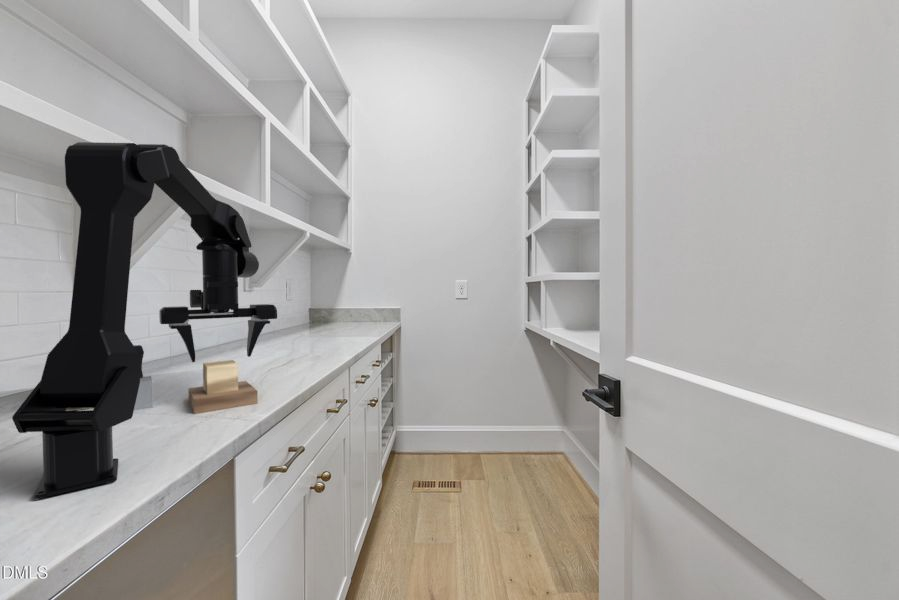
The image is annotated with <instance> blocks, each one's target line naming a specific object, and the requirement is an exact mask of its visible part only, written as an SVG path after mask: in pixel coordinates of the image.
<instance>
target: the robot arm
mask: <svg viewBox="0 0 899 600" xmlns="http://www.w3.org/2000/svg"><path fill="white" fill-rule="evenodd" d="M64 170H65V171H64V174H65V185H66V186H65V187H66V188H67V190H68V191H69V193H70V195H72V197H73V198H74V201H75V202H76V203H77V206H78V207H79V208H80V217H79V227H78V237H77V246H76V247H77V248H76V256H75V266H74V276H73V286H72V295H71V296H72V297H71V304H70V315H69V316H70V317H69V325H68V330H67V332H66V333H65V334H64V335H63V336H62V338H61V339H60V340H59V341H58V342H57V343H56V344H55V346H54V347H53V348H52V349H51V350H50V352H48V354H47V356H46V359H45V363H44V368H43V370H42V375H41V378H40V381H39V382H38V383H37V384H36V386H35V387H33V389H32V390H31V392H30V394H28V396H27V397H26V398H25V400H24V401H23V402H22V403H21V405H20V406H19V407H18V409H17V410H16V411H15V412H14V414H13V415H12V421H13V423H14V426H15V428H16V430H17V432H18V433H19V434H23V433H24V434H26V433H35V432H36V433H37V432H39V433H40V432H41V434H42V459H43V461H42V464H43V468H42V469H43V475H42V477H41V479H40V480H39V483H38V484H37V486H36V490H35V491H34V493H33V498H34V500H37V499H43V498H48V497H51V496H52V497H53V496H55V495H60V494H64V493H69V492H73V491H77V490H82V489H86V488H91V487H94V486H95V487H96V486H99V485H103V484H108V483H113V482H115V481H117V480H118V473H119V458H114V447H113V444H114V443H113V427H114V426H118V425H120V424H121V423H124V422H126V421H129V420H131V419H132V418H133V416H134V412H135V410H134V407H135V403H136V398H137V394H138V389H139V385H140V378H143V377H144V376H143V358H144V354H145V351H144V349H143V346H142V344H141V345H136V344H135V345H134V344H133V342H132V341H131V339H130V338H129V336H128V335H127V333H126V329H125V328H126V317H127V306H128V305H127V304H128V295H129V282H130V281H129V280H130V271H131V270H130V269H131V260H132V259H131V257H132V247H133V236H134V223H135V219H136V217H137V216H138V215H139V214H140V212H141V211H142V210H143V209H144V208H145V207H146V206H147V204H148V203H149V202H150V201H151V200H152V197H153V192H154V187H155V185H156V186H157V187H158V188H159V189H160V190H161V191H162V192H163V193H164V194H166V195H167V196H168V197H169V198H170V199H171V200H172V201H173V202H174V203H175V204H176V205H177V206H178V207H180V209H182V210H183V211H184V212H185V213H186V214H187V215H188V216H189V218H190V225H189V226H190V227H191V229H192V230H193V231H194V233H195V234H196V235H197V236H198V237H199V238H200V240H201V242H199V243H197V245H196V246H195V248H196V249H197V250H198V251H201V253H202V255H201V256H202V257H201V258H202V259H201V261H202V262H201V263H202V289H190V290H189V306H163V307H161V308H160V309H159V315H158V317H159V324H160V325H168V327H169V329H171V330H177V332H178V333H179V335H180V337H181V338H182V341H183V343H184V346H185V348H186V350H187V352H188V355H189V357H190V360H191V362H192V363H196V351H195V344H194V343H195V342H194V336H193V330H192V325H191V324H189V321H190V320H205V319H207V320H208V319H232V318H234V319H235V318H250V319H249V320H248V319H247V326H248V330H247V341H246V356H247V357H248V358H249V357H251V356H252V354H253V352H254V349H255V346H256V344H257V342H258V341H257V340H258V339H259V336H260V335H261V333H262V331H263V329H264V328H265V325H268V324H269V325H270V324H271V320H276V319H278V308H277V307H276V306H275V305H274V304H269V303H268V304H267V303H264V304H263V303H262V304H261V303H260V304H249V307H241V308H240V307H239V281H238V279H239V278H243V279H245V278H246V279H247V278H250V277H253V276H254V275H256V273H257V272H258V270H259V267H260V262H259V260H258V258H257V256H256V255H255V254H254V253H253V252H251V251H250V249H251V248H252V243H251V239H250V236H249V233H248V231H247V228H246V224H245V222H244V218H243V217H242V216H241V215H240V213H239V211H238V210H237V209H235V208H234V207H233V206H231V205H230V204H229V203H226V202H223V201H222V200H221V201H220V200H218V199H216V198H215V197H214V196H213V195H211V193H210V192H209V191H208V190H207V189H206V188H205V187H204V185H203V184H202V183H201V182H200V181H199V179H197V177H196V176H195V175H194V174H193V173H192V172H191V171H190V170H189V168H188V167H186V165H185V164H184V163H183V162H182V160H180V156H179V154H178V152H177V150H176V149H175V148H174V147H173V146H169V145H168V144H158V143H157V144H156V143H155V144H154V143H153V144H152V143H151V144H150V143H139V144H137V143H135V142H92V141H91V142H85V141H84V142H83V141H82V142H80V141H79V142H75V143H74V144H72V145H68V147H67V148H66V150H65V154H64ZM189 307H190V308H191V309H189ZM192 308H193V309H192ZM194 308H196V309H194ZM198 308H200V309H198ZM66 408H91V409H93V410H73V411H66Z"/></svg>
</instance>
